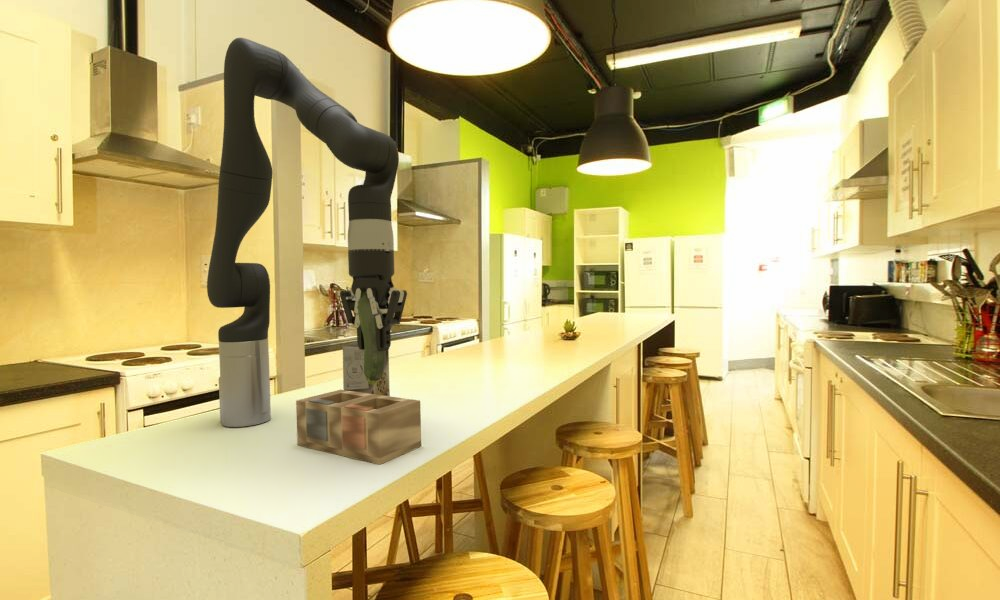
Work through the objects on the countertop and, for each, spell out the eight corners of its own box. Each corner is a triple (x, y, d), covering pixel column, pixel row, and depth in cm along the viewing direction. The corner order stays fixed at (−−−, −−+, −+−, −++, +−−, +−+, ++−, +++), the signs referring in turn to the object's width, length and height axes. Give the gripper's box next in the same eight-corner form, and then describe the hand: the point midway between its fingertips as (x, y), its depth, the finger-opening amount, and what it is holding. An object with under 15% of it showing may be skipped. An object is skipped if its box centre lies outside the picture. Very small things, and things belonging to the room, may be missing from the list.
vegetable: (392, 383, 87) (387, 267, 87) (378, 388, 83) (373, 267, 82) (370, 382, 89) (365, 269, 88) (355, 387, 85) (350, 268, 84)
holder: (296, 445, 89) (294, 399, 89) (341, 430, 98) (340, 388, 98) (378, 465, 79) (377, 412, 79) (421, 446, 88) (420, 398, 87)
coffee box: (372, 426, 100) (370, 346, 100) (343, 425, 102) (340, 345, 101) (391, 414, 109) (389, 340, 109) (364, 413, 111) (362, 340, 110)
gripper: (324, 249, 85) (327, 350, 86) (386, 245, 78) (389, 355, 79) (358, 251, 92) (361, 345, 93) (418, 247, 85) (420, 349, 85)
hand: (374, 349), depth 86 cm, fingers closed on vegetable, 3 cm apart
